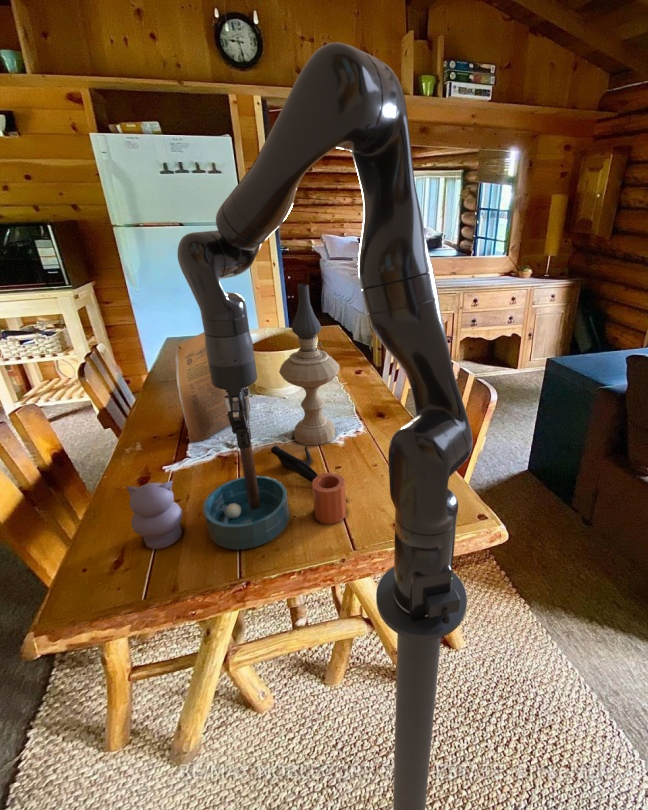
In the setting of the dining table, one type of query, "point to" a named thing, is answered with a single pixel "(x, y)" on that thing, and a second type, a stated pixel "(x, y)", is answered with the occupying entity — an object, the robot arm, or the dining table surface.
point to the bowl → (246, 514)
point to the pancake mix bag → (199, 391)
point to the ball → (233, 510)
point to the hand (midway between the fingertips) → (245, 442)
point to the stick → (250, 477)
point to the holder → (329, 498)
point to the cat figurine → (155, 514)
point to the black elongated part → (296, 463)
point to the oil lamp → (310, 374)
